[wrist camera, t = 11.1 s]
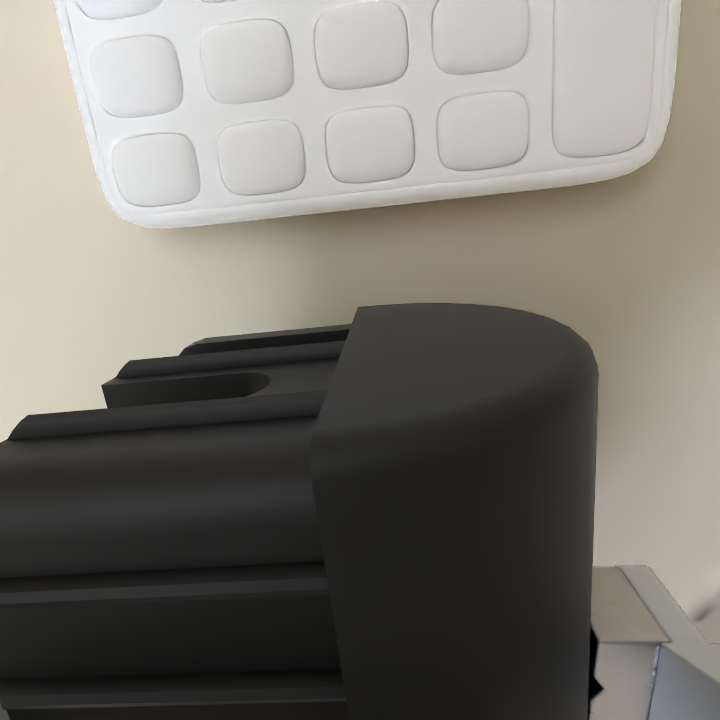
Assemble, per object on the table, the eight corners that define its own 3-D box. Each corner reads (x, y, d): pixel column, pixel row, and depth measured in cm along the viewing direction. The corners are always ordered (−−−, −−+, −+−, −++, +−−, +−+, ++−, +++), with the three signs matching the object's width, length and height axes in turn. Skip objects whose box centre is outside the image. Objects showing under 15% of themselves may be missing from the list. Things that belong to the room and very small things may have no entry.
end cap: (517, 662, 12) (658, 1147, 6) (256, 670, 13) (124, 1117, 6) (508, 284, 10) (759, 414, 3) (178, 317, 10) (-189, 484, 4)
